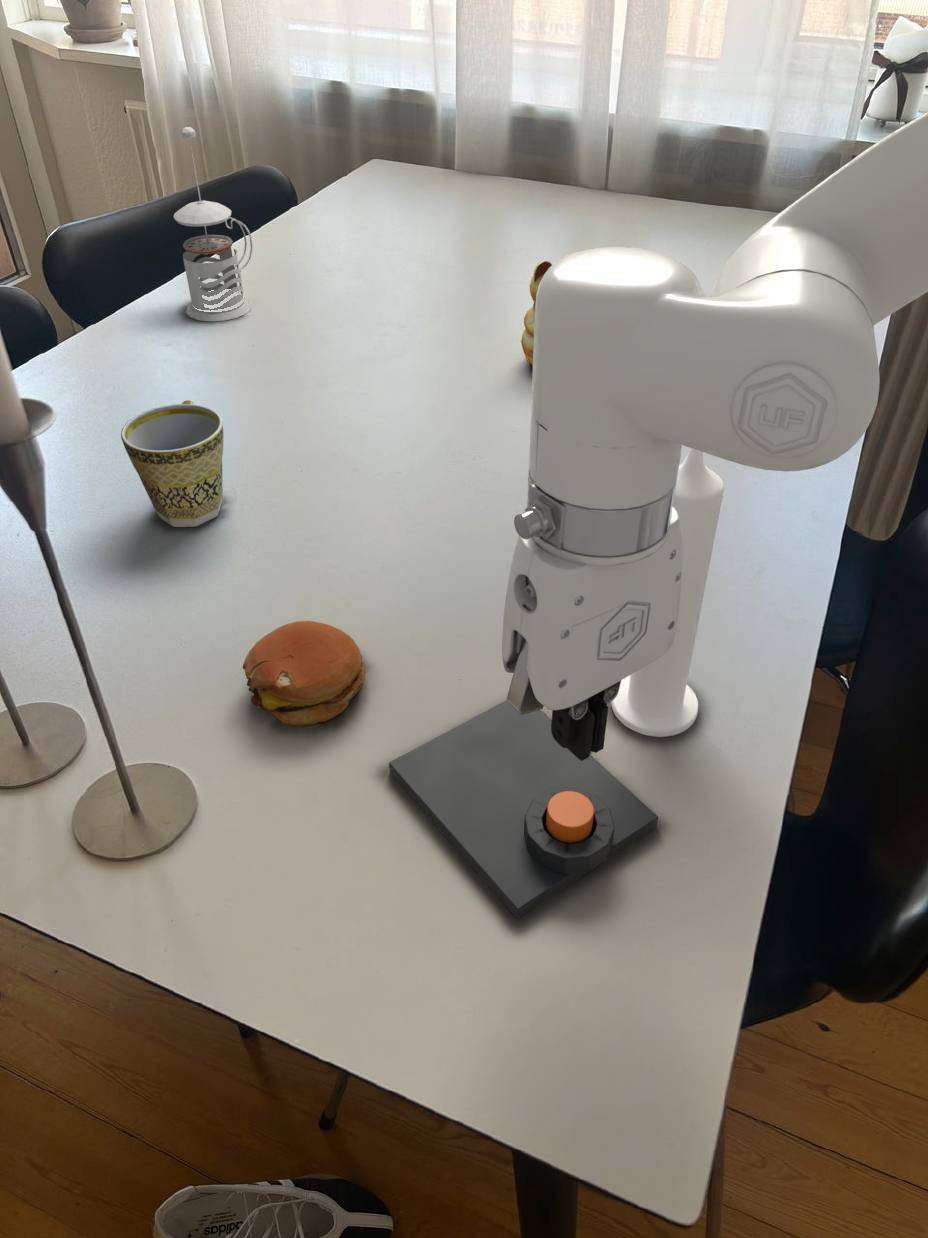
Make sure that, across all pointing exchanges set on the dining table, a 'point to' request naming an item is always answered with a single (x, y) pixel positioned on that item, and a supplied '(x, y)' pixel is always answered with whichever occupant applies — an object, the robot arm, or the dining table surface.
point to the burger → (304, 672)
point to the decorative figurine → (533, 310)
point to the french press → (220, 245)
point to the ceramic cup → (178, 460)
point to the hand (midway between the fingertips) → (576, 741)
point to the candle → (660, 688)
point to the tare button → (569, 816)
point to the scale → (518, 803)
